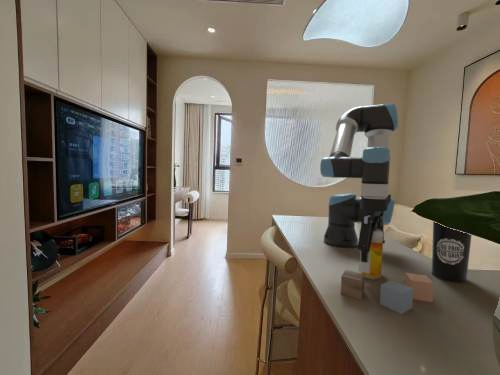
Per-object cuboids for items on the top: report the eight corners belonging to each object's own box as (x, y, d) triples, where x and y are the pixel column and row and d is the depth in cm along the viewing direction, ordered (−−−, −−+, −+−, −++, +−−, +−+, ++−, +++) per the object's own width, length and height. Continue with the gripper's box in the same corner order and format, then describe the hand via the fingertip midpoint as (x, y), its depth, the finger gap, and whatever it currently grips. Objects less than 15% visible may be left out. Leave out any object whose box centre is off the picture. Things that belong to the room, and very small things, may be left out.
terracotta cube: (404, 290, 66) (404, 272, 66) (425, 293, 65) (426, 275, 64) (409, 298, 62) (410, 280, 61) (432, 302, 60) (433, 283, 60)
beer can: (384, 281, 71) (386, 232, 70) (362, 279, 73) (364, 231, 72) (377, 273, 77) (379, 227, 76) (357, 271, 78) (359, 226, 78)
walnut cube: (344, 286, 68) (345, 269, 67) (364, 292, 65) (364, 274, 64) (340, 294, 63) (341, 275, 63) (361, 299, 61) (362, 280, 60)
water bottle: (426, 276, 75) (431, 205, 74) (430, 267, 83) (434, 202, 82) (470, 287, 68) (475, 208, 67) (470, 276, 76) (475, 205, 75)
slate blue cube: (390, 298, 61) (391, 280, 61) (412, 308, 57) (413, 288, 57) (379, 304, 59) (380, 284, 58) (401, 314, 54) (402, 293, 54)
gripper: (372, 194, 85) (369, 255, 86) (347, 198, 68) (344, 273, 69) (396, 196, 79) (393, 260, 81) (375, 201, 63) (371, 282, 64)
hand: (370, 266), depth 75 cm, fingers open, 11 cm apart
